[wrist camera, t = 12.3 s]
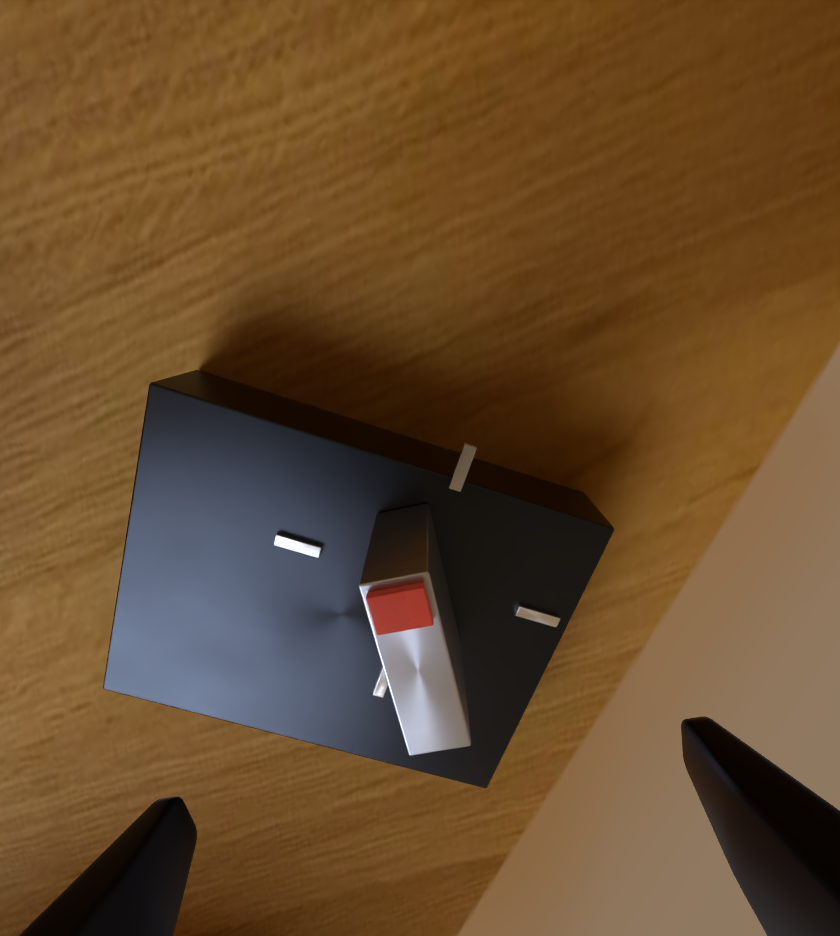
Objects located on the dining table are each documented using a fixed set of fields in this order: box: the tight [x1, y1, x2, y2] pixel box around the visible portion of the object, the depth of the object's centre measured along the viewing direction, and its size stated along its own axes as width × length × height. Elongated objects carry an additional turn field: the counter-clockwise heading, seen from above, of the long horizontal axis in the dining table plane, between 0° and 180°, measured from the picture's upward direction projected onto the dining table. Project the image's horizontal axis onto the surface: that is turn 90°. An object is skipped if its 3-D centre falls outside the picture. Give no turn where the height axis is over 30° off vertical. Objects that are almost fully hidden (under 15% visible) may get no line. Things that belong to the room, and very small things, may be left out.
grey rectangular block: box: [359, 504, 471, 755], centre depth 13 cm, size 5×2×4 cm, turn 13°
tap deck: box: [103, 370, 614, 788], centre depth 17 cm, size 14×12×3 cm
